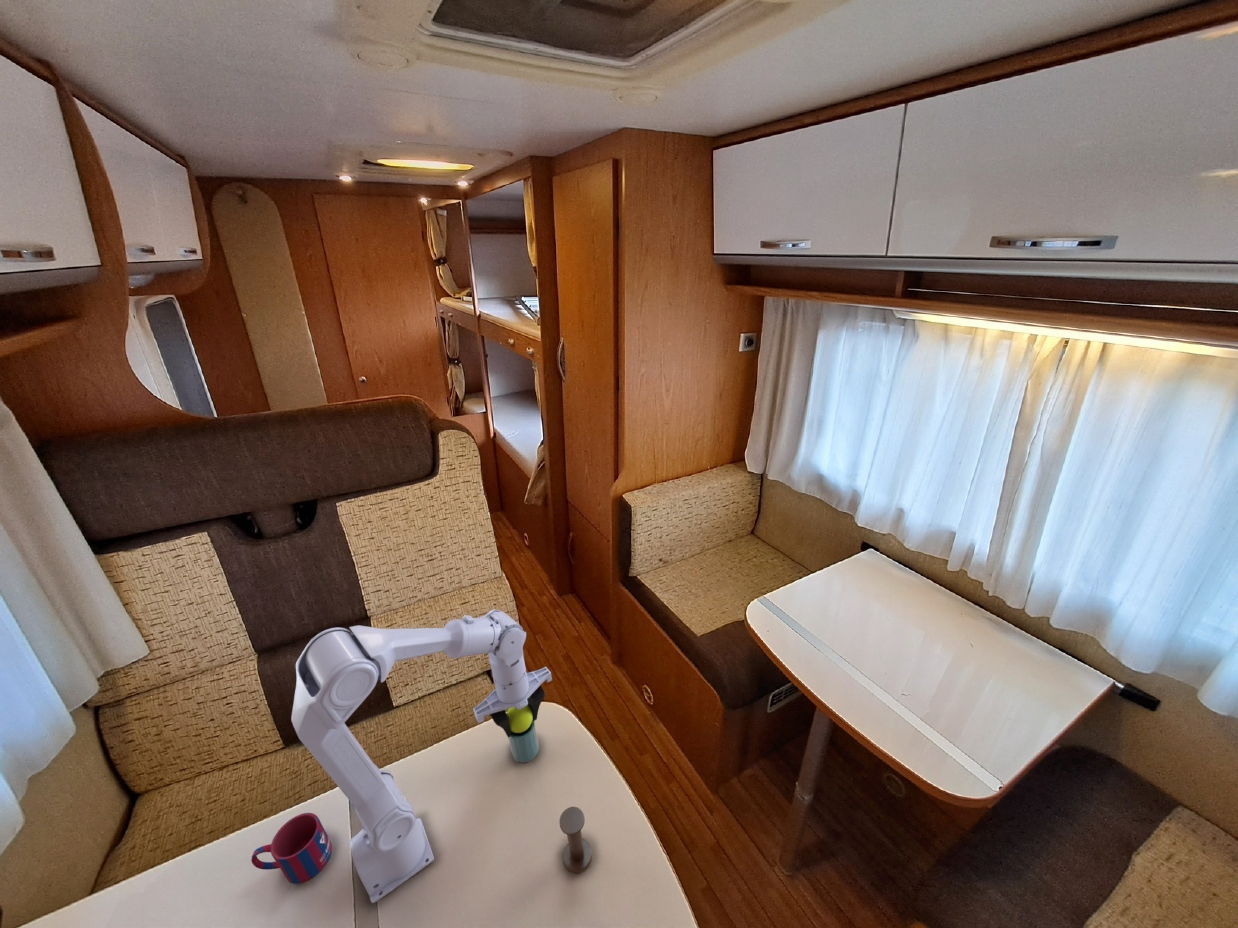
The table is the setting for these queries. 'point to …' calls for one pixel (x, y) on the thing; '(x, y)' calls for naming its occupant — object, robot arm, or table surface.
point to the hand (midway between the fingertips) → (520, 724)
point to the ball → (519, 719)
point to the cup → (297, 849)
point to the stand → (575, 841)
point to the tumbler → (524, 744)
